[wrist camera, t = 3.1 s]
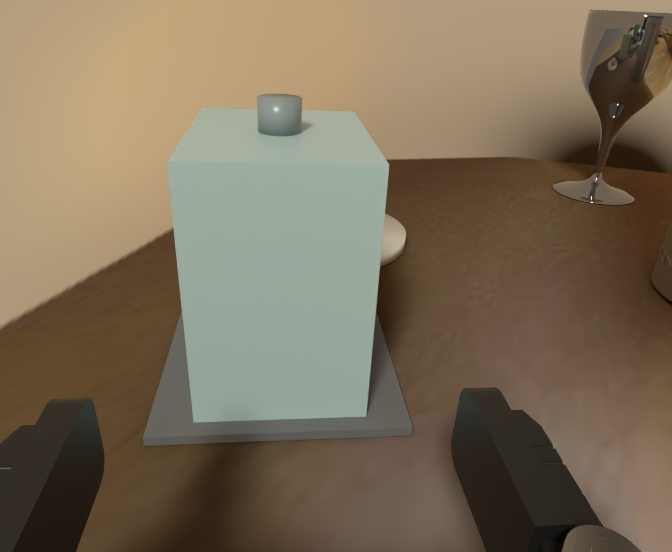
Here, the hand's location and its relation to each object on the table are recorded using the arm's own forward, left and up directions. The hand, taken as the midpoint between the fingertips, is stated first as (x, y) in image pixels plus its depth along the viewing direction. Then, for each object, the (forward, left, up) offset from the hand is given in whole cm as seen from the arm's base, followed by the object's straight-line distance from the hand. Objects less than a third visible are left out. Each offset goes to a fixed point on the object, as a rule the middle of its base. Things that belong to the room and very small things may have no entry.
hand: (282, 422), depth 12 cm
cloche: (0, -11, -6) cm, 13 cm away
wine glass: (-29, -36, -7) cm, 47 cm away
